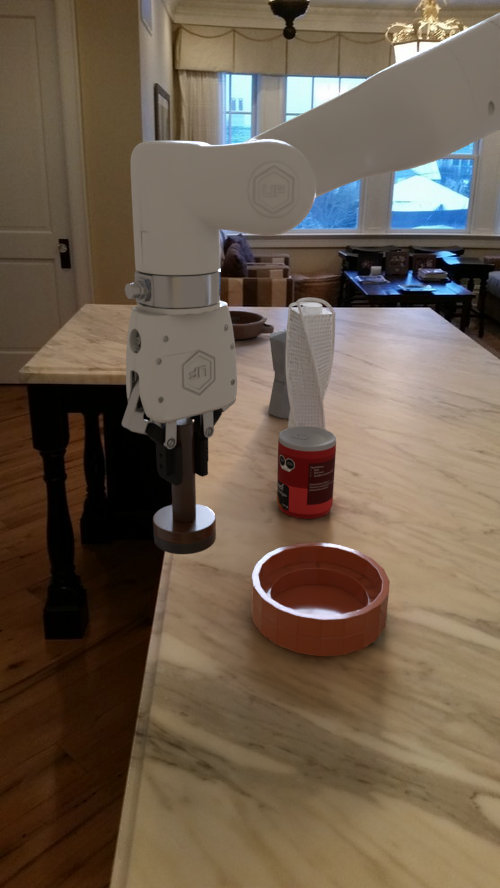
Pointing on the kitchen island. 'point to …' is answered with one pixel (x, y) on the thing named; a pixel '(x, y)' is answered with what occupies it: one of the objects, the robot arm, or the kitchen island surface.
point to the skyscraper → (309, 360)
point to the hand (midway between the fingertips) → (183, 474)
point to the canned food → (305, 471)
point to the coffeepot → (279, 376)
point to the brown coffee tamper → (185, 506)
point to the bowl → (319, 598)
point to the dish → (249, 324)
